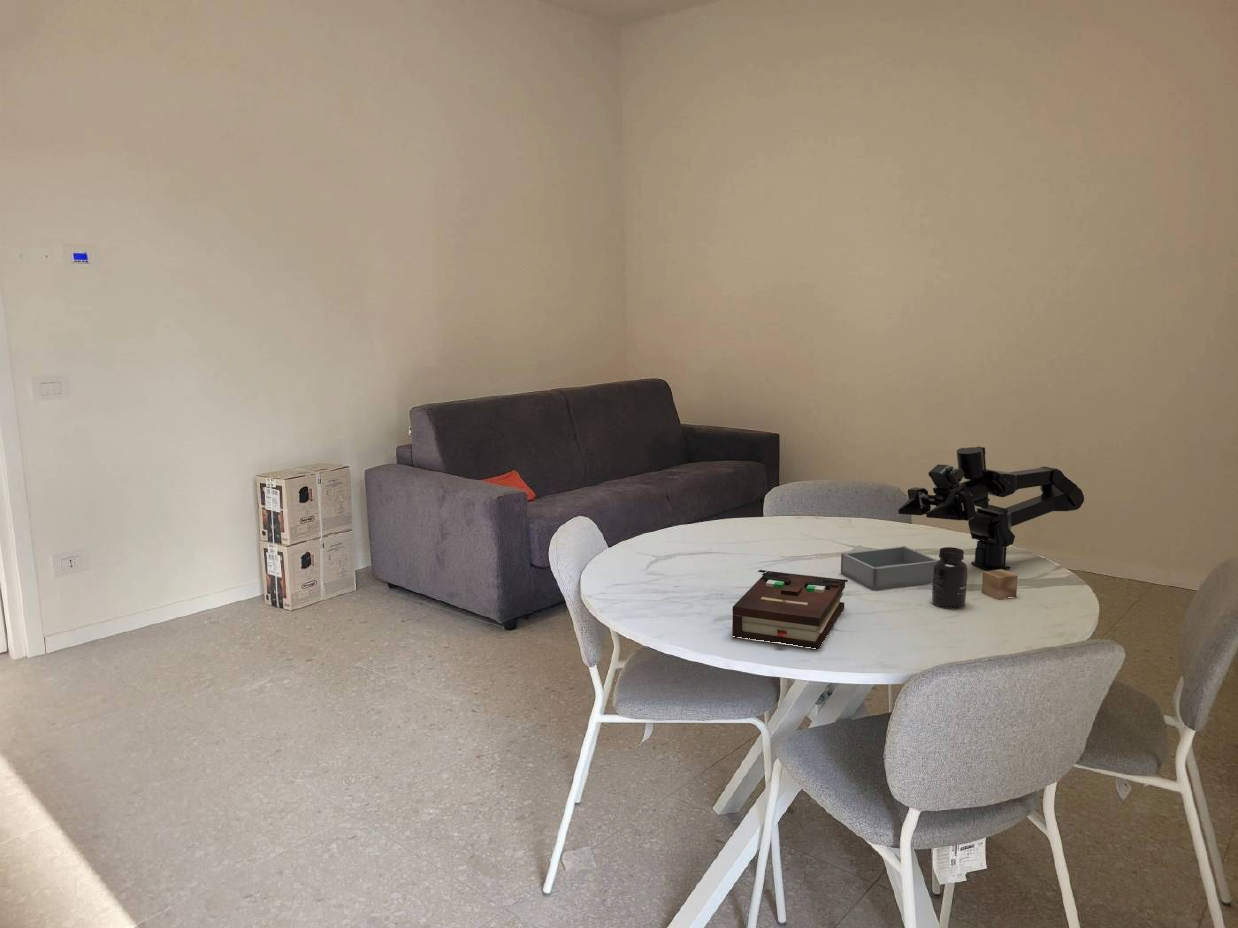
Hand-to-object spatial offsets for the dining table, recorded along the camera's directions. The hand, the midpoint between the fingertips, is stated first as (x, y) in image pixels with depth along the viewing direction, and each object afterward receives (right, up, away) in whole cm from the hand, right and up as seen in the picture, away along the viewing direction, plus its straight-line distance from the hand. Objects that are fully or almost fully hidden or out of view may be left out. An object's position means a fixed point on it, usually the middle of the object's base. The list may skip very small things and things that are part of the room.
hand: (912, 513), depth 208 cm
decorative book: (-32, -22, -22) cm, 44 cm away
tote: (-4, -15, +6) cm, 17 cm away
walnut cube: (+17, -18, -7) cm, 25 cm away
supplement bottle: (+4, -19, -13) cm, 23 cm away
